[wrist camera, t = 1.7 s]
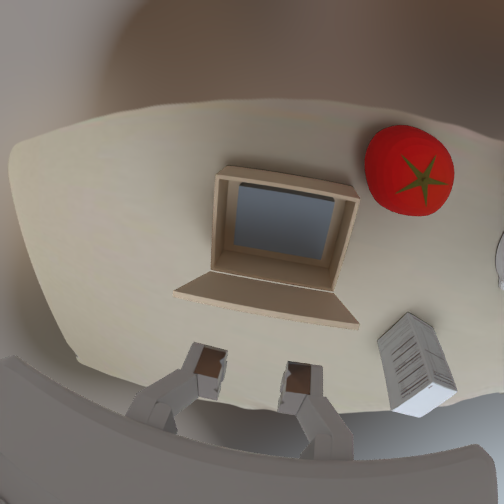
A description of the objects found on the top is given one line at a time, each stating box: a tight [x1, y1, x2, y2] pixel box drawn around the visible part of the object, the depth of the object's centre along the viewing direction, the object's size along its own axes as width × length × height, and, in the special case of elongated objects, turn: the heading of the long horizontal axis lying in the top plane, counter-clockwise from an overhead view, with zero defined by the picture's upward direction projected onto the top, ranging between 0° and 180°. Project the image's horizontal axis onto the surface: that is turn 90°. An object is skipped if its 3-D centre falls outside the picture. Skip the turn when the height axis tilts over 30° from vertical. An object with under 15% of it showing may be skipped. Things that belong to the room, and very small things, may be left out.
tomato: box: [365, 125, 454, 216], centre depth 29 cm, size 11×12×10 cm
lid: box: [173, 271, 360, 330], centre depth 32 cm, size 18×14×1 cm
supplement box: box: [377, 312, 457, 417], centre depth 41 cm, size 10×9×17 cm
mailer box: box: [211, 165, 360, 291], centre depth 39 cm, size 18×14×6 cm
